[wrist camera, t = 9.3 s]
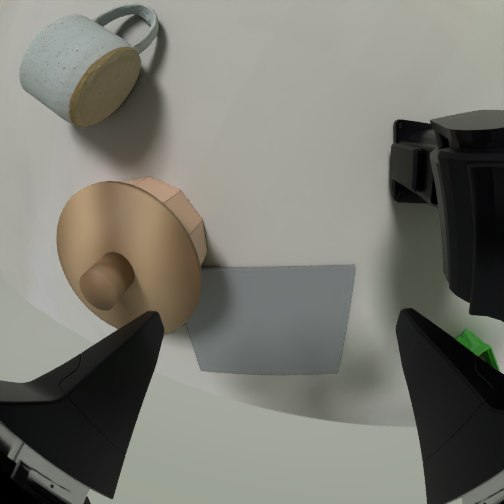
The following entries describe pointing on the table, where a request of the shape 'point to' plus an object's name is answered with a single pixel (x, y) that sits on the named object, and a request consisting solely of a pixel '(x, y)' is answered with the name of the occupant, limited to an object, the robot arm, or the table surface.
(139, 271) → the lid
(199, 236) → the bowl
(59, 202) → the table surface
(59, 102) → the ceramic mug
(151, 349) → the robot arm
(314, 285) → the mat
